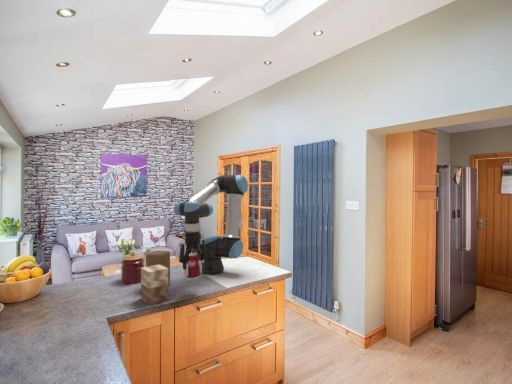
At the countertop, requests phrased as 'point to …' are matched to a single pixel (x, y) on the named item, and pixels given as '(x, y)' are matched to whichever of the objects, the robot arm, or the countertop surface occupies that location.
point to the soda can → (193, 265)
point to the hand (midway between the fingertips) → (193, 273)
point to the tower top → (154, 276)
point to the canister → (132, 268)
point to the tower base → (154, 294)
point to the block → (159, 260)
